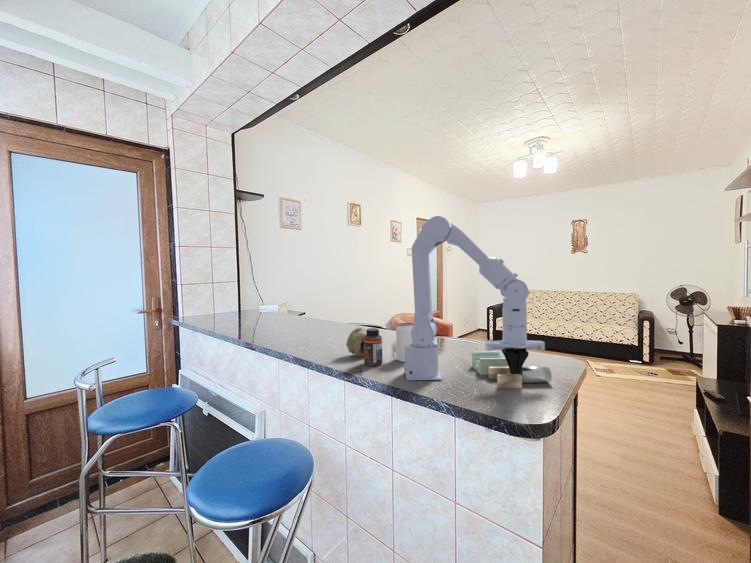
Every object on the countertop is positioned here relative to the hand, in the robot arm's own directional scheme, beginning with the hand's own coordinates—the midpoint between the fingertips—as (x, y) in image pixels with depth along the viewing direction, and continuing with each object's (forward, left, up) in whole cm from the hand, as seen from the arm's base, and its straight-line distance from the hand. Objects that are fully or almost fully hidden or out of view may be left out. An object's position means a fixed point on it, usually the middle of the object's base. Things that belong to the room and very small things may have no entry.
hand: (514, 377), depth 80 cm
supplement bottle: (-37, +18, -2) cm, 42 cm away
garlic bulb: (-42, +28, -2) cm, 51 cm away
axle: (+5, 0, -1) cm, 5 cm away
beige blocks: (-3, 0, -1) cm, 3 cm away
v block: (-3, +10, -1) cm, 11 cm away
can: (-26, +22, -2) cm, 34 cm away
